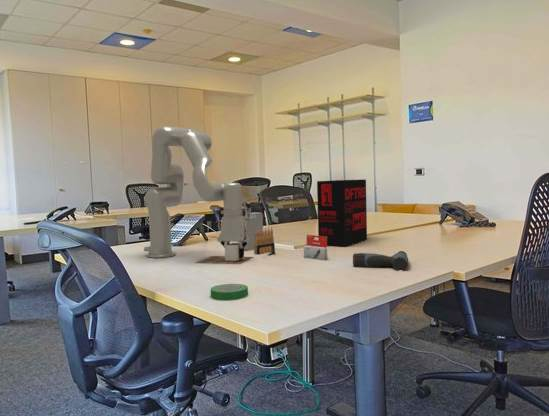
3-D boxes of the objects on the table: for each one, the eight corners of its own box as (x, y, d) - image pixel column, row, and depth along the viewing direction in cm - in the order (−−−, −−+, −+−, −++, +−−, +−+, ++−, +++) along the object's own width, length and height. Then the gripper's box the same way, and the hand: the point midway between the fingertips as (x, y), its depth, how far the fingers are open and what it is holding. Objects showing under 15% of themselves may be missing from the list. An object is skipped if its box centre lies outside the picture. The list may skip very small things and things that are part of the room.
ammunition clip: (257, 257, 198) (256, 230, 197) (254, 256, 200) (253, 229, 199) (275, 254, 205) (274, 227, 204) (272, 253, 207) (271, 227, 206)
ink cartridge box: (324, 260, 186) (323, 236, 185) (303, 258, 193) (302, 235, 193) (328, 259, 188) (327, 236, 187) (307, 257, 195) (306, 234, 195)
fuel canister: (244, 251, 215) (242, 198, 213) (236, 250, 218) (234, 198, 216) (264, 246, 227) (262, 197, 225) (256, 246, 230) (254, 197, 228)
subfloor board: (194, 265, 183) (194, 262, 183) (211, 258, 198) (211, 255, 198) (240, 267, 177) (240, 263, 177) (254, 259, 192) (254, 256, 192)
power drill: (358, 260, 185) (409, 262, 179) (351, 269, 168) (407, 272, 161) (358, 247, 185) (409, 248, 179) (351, 255, 167) (407, 257, 161)
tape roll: (219, 290, 142) (219, 282, 142) (253, 292, 139) (252, 283, 139) (204, 300, 132) (204, 291, 131) (240, 302, 128) (239, 292, 128)
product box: (342, 238, 248) (341, 180, 246) (367, 240, 240) (365, 179, 238) (318, 245, 226) (317, 181, 224) (344, 247, 218) (343, 180, 216)
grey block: (225, 260, 183) (224, 245, 183) (232, 257, 191) (232, 242, 190) (236, 260, 182) (236, 245, 181) (243, 257, 189) (243, 242, 189)
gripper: (210, 214, 184) (211, 258, 185) (249, 214, 179) (251, 259, 180) (217, 212, 191) (219, 255, 192) (255, 212, 186) (257, 256, 187)
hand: (234, 257), depth 186 cm, fingers closed on grey block, 5 cm apart
